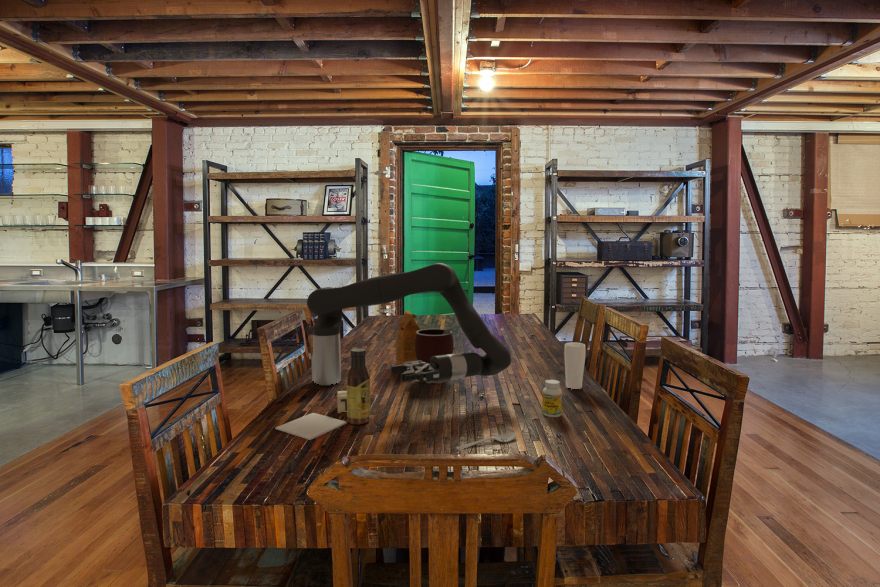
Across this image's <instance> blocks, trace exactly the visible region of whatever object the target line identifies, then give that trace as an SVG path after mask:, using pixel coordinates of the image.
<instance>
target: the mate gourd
mask: <svg viewBox="0 0 880 587" xmlns="http://www.w3.org/2000/svg"><path fill="white" fill-rule="evenodd" d="M456 328H457V329H458V325H457V324H456V325H453V326H451V327H449V328H447V329H446V328H445V329H443V328H426V329H425V328H424V329H420V330H419V331H417V332H416V337H415V353H416V358H417V360H418V361H419V360H421V361H422V362H426V363H429V361H430V359H431V357H433V356H438V355H447V354H454V347H455V346H454V336H453V329H456ZM447 381H448V382H450V381H449V380H447ZM447 381H440V382H435V381H428V382H426V383H425V384H431V383H437V384H444V383H443V382H445V383H448V382H447Z"/></svg>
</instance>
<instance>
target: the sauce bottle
mask: <svg viewBox="0 0 880 587" xmlns="http://www.w3.org/2000/svg"><path fill="white" fill-rule="evenodd" d="M366 353H367V351H366V349H365V348H352V349H350V359H351V360H350V361H351V364H350V369H349V370H348V372H347V374H346V375H347V377H346V380H347V382H346V391H347V413H346V416H347V423H348V424H351V425H355V426H357V425H364V424H366V423H368V422H369V421H370V416H371V377H370V375H369V372H368V370H367V367H366Z"/></svg>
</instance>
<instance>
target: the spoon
mask: <svg viewBox="0 0 880 587" xmlns="http://www.w3.org/2000/svg"><path fill="white" fill-rule="evenodd" d="M516 437H517V433H516V432H507V433H502V434H497V435H493V436H490V437H486V438H483V439H480V440H476V441H473V442H470V443H465V444H462V445H459V446H460V447H458V446H456V447H457V448H460V449H462V450H465V449H464V448H466V449H467V448H468V449H469V448H470V447H472V446H475V445H477V444H481V443H483V442H487V441H489V440H495V441H498V442H500V443H509V442H511V441H513V440H515V439H516ZM502 439H506V440H502Z"/></svg>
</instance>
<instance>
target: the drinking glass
mask: <svg viewBox="0 0 880 587" xmlns="http://www.w3.org/2000/svg"><path fill="white" fill-rule="evenodd" d="M563 351H564V370H565V372H564V373H565V387H566V389H568V388H571V389H570V390H572V389H579V390H581V389H582V388H583V379H584V369H585V362H586V344H585V343H582V342H577V341H575V342H572V341H571V342H566V343H565V344H564V350H563ZM580 388H581V389H580Z"/></svg>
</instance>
